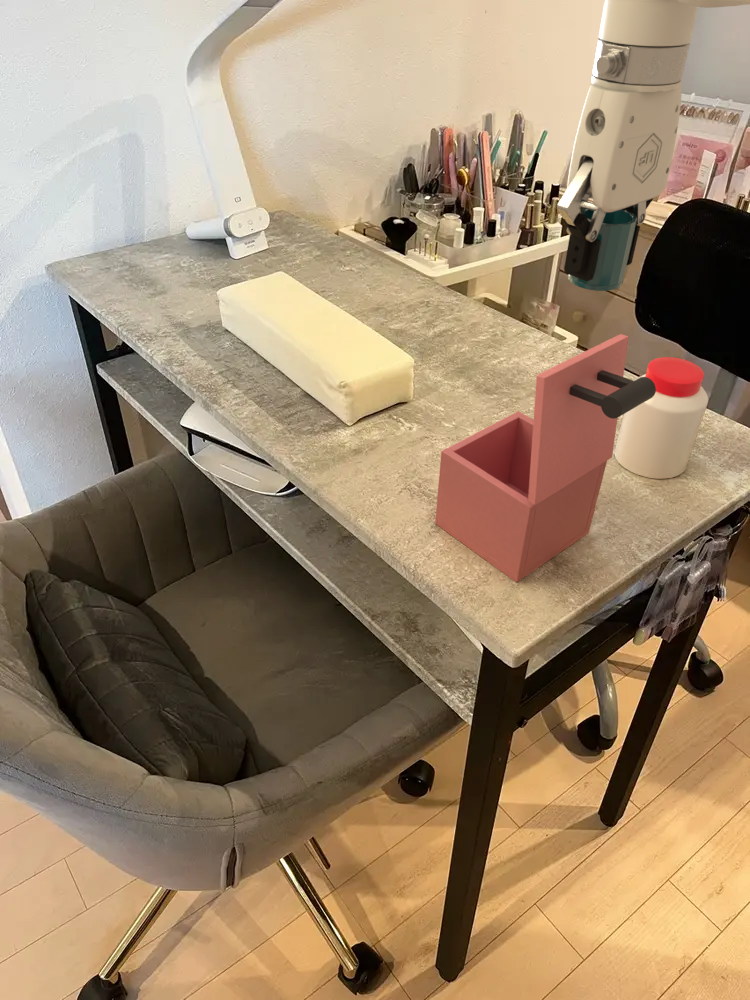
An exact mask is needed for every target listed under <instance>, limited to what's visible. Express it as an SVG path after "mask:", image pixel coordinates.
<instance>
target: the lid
mask: <svg viewBox="0 0 750 1000" xmlns="http://www.w3.org/2000/svg"><path fill="white" fill-rule="evenodd" d="M629 338H630V337H629V335H626V334H622V333H619V334H617V335H616V336H614V337H612V338H610V339H607V340H606V341H604V342H603V341H602V342H601V343H599V344H597V345H595V346H593V347H591V348H589V349H587V350H585V351H582V352H581V353H579V354H577V355H575V356H573V357H571V358H568V359H566V360H565V361H562V362H561V363H558V364H557V365H554V366H553V367H550V368H548V369H546V370H544V371H542V372H540V373H538V374H537V375H536V377H535V378H536V380H535V392H534V393H535V395H534V396H535V397H534V410H533V420H534V421H533V436H532V451H531V465H530V480H529V494H528V502H530V503H532V504H534V505H536V504H538V503H540V502H541V501H543V500H544V499H546V498H548V497H549V496H551V495H552V494H554V493H556V492H557V491H559V490H560V489H562V488H564V487H565V486H567V485H568V484H570V483H572V482H573V481H575V480H577V479H578V478H580V477H581V476H583V475H585V474H586V473H588V472H589V471H591V470H593V469H594V468H596V467H597V466H599V465H601V464H602V463H604V462H605V461H607V462H608V461H609V460H610V459H613V454H614V448H615V438H616V433H617V425H618V418H619V417H622V416H623V415H624V414H625V413H626V412H628V411H630V410H632V409H633V408H635V407H637V406H638V405H640V404H642V403H644V402H645V401H647V400H649V399H651V398H652V397H653V396H654V395H655V392H656V387H655V384H654V382H653V381H652V380H651V379H650V378H647V377H640V376H639V377H640V378H638V377H637V378H638V379H637V378H636V379H637V380H635V379H630V378H627V377H624V375H625V366H626V360H627V353H628V345H629ZM634 380H635V381H634Z"/></svg>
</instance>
